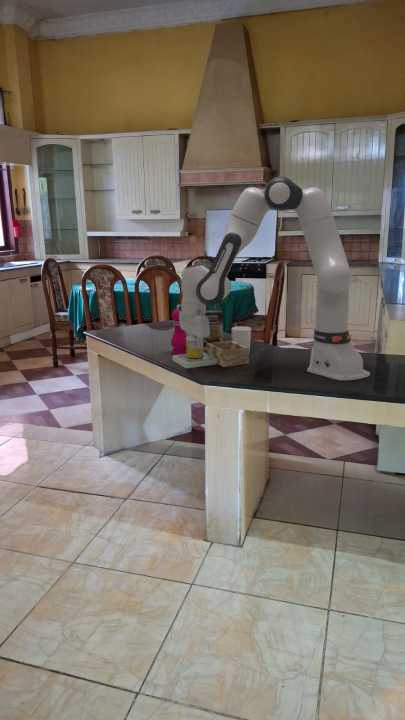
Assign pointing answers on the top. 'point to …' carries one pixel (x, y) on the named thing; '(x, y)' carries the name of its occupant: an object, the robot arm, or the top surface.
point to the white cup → (242, 336)
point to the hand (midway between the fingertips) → (194, 345)
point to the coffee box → (214, 327)
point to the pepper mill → (178, 336)
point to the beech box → (228, 353)
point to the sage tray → (187, 363)
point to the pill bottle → (193, 348)
